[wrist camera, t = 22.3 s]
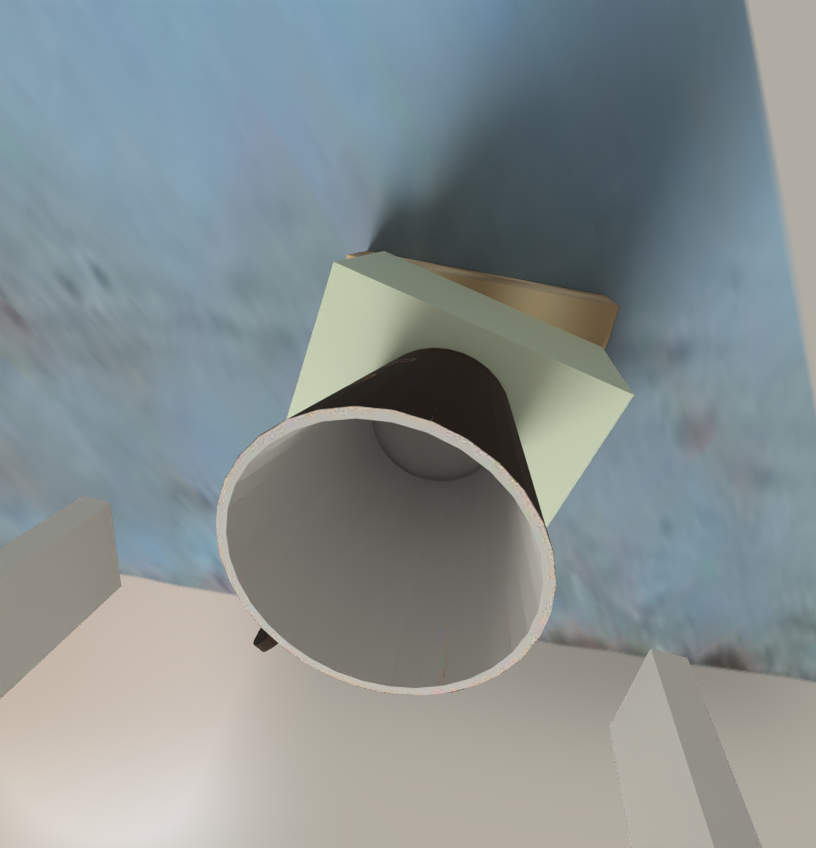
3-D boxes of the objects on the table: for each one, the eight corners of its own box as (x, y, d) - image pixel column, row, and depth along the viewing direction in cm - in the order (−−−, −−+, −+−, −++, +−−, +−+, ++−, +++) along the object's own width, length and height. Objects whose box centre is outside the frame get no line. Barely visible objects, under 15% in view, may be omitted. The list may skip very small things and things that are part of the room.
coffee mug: (497, 286, 18) (477, 348, 9) (565, 477, 21) (602, 674, 12) (256, 385, 22) (76, 496, 13) (337, 536, 25) (232, 718, 16)
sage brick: (331, 404, 31) (274, 460, 24) (384, 250, 26) (333, 261, 19) (517, 488, 30) (517, 572, 23) (602, 347, 26) (634, 395, 19)
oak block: (348, 420, 35) (328, 442, 32) (367, 251, 31) (346, 254, 27) (551, 468, 34) (555, 497, 30) (606, 295, 29) (619, 306, 25)
